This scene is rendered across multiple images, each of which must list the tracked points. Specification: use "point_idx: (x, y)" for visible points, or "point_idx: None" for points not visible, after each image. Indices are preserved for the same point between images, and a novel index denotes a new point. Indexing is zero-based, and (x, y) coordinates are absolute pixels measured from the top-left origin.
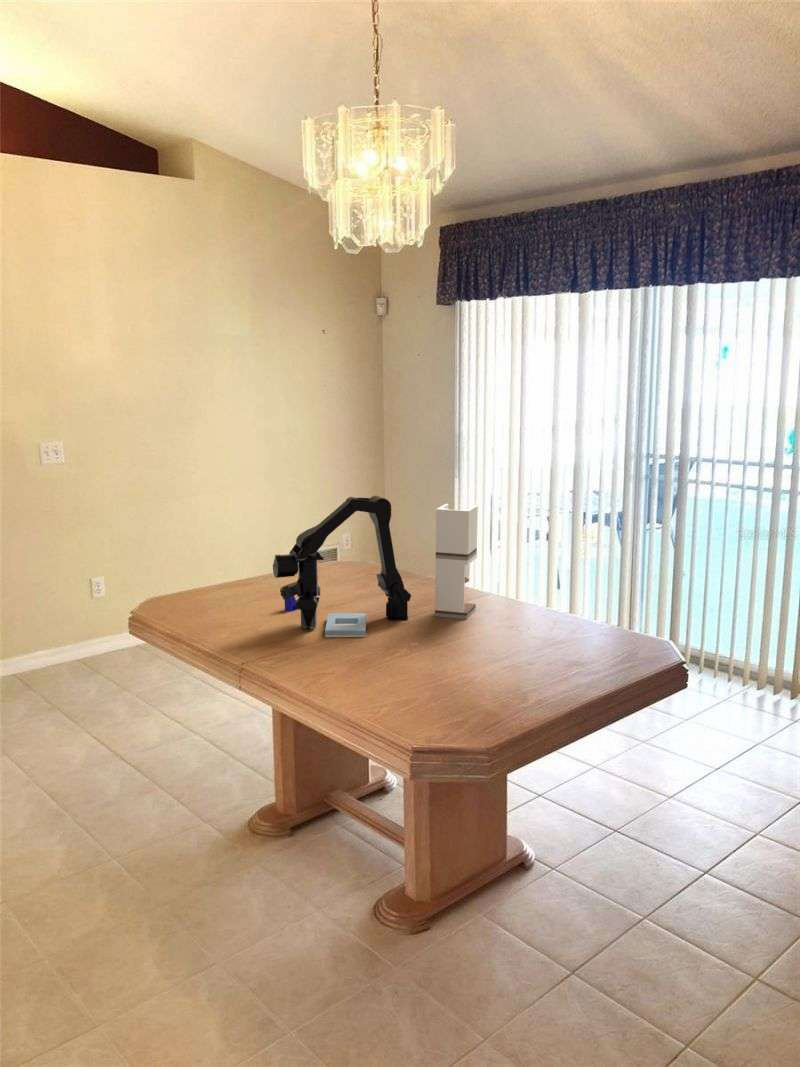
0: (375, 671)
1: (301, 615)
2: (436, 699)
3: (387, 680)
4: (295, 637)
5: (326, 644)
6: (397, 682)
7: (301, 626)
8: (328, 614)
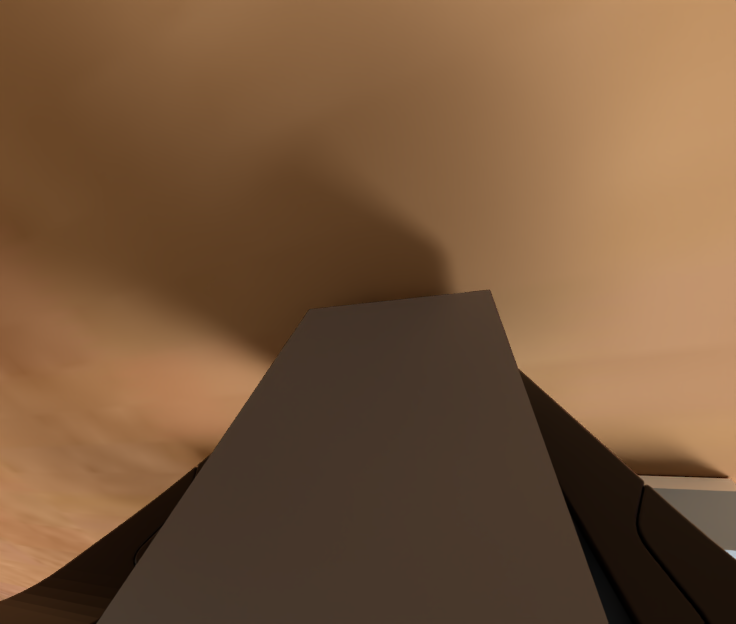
0: (29, 555)
1: (232, 441)
2: (9, 594)
3: (6, 563)
4: (109, 290)
5: (124, 467)
6: (15, 572)
7: (304, 321)
8: (731, 552)
